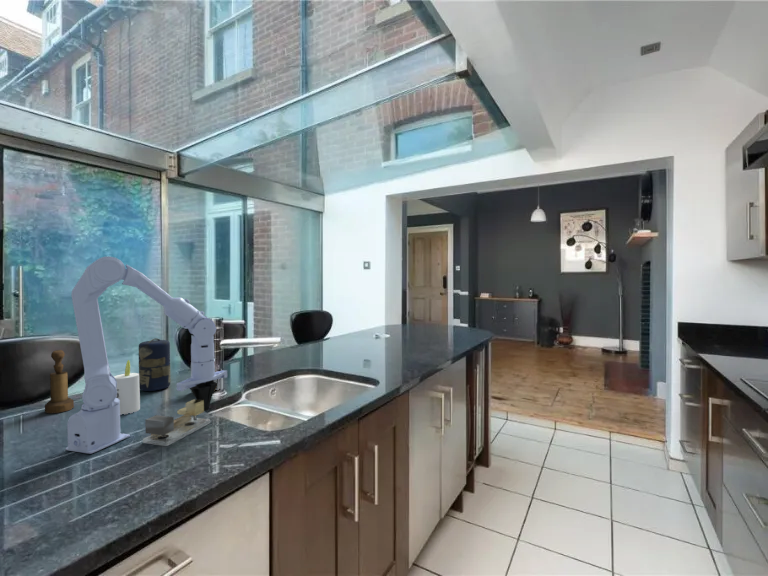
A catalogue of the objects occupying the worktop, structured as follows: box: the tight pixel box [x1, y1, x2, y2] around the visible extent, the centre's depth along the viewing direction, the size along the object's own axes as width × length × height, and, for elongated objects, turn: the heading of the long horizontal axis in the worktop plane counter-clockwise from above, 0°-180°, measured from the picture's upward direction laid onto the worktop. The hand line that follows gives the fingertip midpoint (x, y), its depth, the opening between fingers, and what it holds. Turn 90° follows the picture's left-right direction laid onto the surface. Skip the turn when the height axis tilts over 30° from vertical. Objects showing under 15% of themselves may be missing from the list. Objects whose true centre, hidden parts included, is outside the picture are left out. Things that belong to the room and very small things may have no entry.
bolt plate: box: [142, 416, 211, 447], centre depth 93 cm, size 14×7×1 cm, turn 165°
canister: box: [138, 337, 172, 392], centre depth 130 cm, size 10×10×18 cm
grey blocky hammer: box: [144, 414, 192, 437], centre depth 92 cm, size 12×5×4 cm, turn 165°
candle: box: [113, 359, 141, 416], centre depth 108 cm, size 6×6×15 cm
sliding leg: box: [176, 398, 205, 420], centre depth 97 cm, size 3×6×5 cm, turn 75°
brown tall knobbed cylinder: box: [44, 349, 75, 414], centre depth 110 cm, size 7×6×18 cm
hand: (204, 409), depth 100 cm, fingers closed
